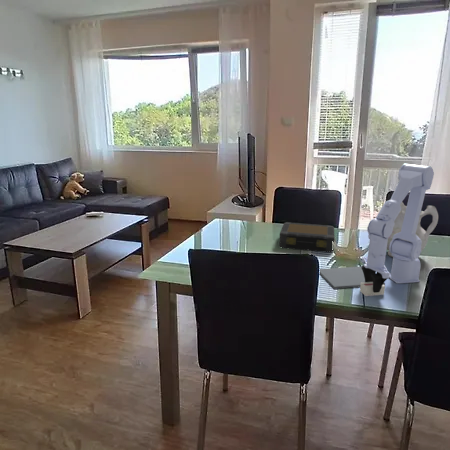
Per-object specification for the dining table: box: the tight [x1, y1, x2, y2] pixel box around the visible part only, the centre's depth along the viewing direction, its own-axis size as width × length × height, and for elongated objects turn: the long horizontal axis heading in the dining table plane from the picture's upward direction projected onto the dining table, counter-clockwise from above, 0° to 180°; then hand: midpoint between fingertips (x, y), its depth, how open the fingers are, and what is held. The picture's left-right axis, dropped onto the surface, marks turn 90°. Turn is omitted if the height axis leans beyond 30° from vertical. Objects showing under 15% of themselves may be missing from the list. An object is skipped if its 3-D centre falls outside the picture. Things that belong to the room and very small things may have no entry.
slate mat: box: [319, 265, 386, 290], centre depth 147 cm, size 20×16×1 cm
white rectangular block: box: [359, 282, 386, 297], centre depth 134 cm, size 7×4×4 cm, turn 99°
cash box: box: [278, 221, 336, 253], centre depth 184 cm, size 25×20×8 cm
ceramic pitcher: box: [386, 201, 439, 258], centre depth 166 cm, size 22×20×25 cm
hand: (372, 288), depth 134 cm, fingers open, 5 cm apart
